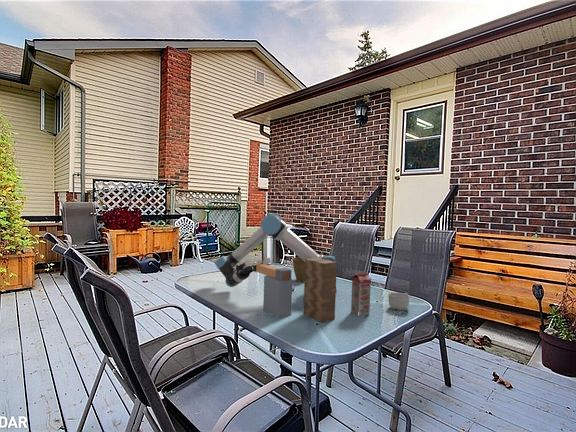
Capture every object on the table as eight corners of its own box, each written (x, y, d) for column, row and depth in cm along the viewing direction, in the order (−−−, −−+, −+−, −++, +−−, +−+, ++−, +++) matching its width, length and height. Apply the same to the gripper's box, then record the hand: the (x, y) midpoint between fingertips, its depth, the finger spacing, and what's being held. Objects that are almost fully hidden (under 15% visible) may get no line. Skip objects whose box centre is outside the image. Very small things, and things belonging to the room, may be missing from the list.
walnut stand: (303, 314, 167) (305, 259, 166) (315, 311, 172) (317, 257, 170) (322, 322, 156) (325, 263, 155) (334, 319, 161) (336, 262, 160)
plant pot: (312, 283, 231) (313, 260, 231) (291, 282, 231) (292, 259, 231) (311, 278, 246) (312, 257, 245) (291, 277, 246) (292, 256, 246)
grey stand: (263, 310, 170) (264, 275, 170) (275, 307, 175) (276, 274, 174) (278, 318, 160) (279, 281, 159) (291, 314, 165) (292, 279, 164)
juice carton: (350, 312, 172) (352, 270, 171) (361, 311, 174) (363, 269, 173) (358, 316, 166) (360, 273, 165) (369, 315, 168) (371, 272, 167)
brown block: (254, 271, 178) (255, 262, 178) (263, 270, 182) (264, 261, 182) (281, 281, 160) (281, 270, 159) (291, 279, 163) (291, 269, 163)
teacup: (398, 313, 174) (399, 298, 173) (383, 306, 183) (384, 292, 183) (417, 309, 180) (417, 295, 180) (401, 304, 190) (402, 290, 189)
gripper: (260, 277, 201) (279, 265, 186) (223, 282, 186) (241, 269, 171) (257, 265, 204) (276, 252, 189) (221, 269, 188) (237, 256, 174)
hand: (259, 260), depth 180 cm, fingers open, 13 cm apart
